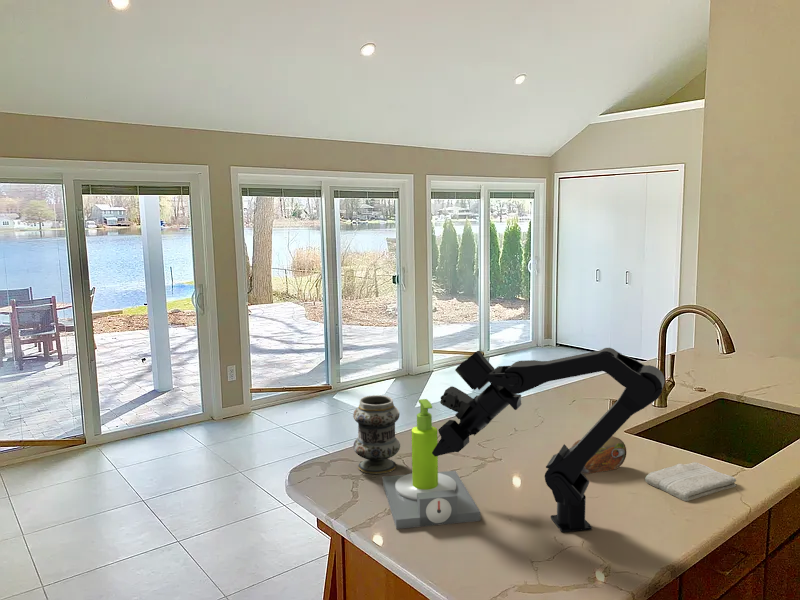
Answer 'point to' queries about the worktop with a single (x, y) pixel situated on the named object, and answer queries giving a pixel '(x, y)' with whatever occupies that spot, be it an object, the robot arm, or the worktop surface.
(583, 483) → the robot arm
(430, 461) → the soap dispenser
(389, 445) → the apothecary jar
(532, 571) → the worktop surface
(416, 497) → the kitchen scale
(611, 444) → the tin
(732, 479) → the washcloth
